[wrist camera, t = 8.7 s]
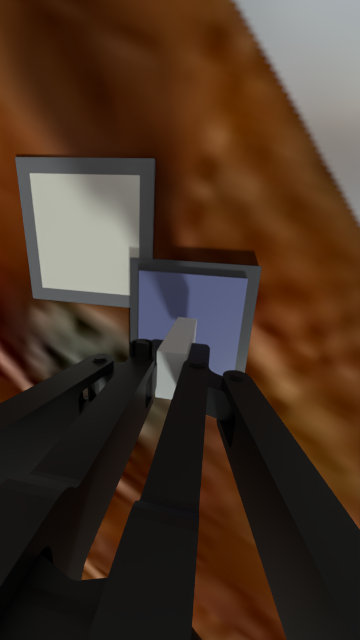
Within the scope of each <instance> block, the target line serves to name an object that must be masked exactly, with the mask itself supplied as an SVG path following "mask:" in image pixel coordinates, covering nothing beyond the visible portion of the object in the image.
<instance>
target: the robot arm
mask: <svg viewBox="0 0 360 640" xmlns="http://www.w3.org/2000/svg"><path fill="white" fill-rule="evenodd" d="M196 327H197V319H194V318H184V317H178V318H177V320H176V321H175V323H174V324H173V326H172V328H171V329H170V331H169V332H168V334H167V336H166V337H165V339H164V340H160V339H153V340H149V339H136V340H132V341H131V342H130V357H129V358H128V359H127V361H126V362H122V363H114V358H113V357H112V356H111V355H108V354H97V355H93V356H90V357H88V358H86V359H85V360H83V361H81V362H79V363H77V364H75V365H73V366H71V367H69V368H67V369H65V370H64V371H62V372H60V373H58V374H56V375H54V376H52V377H50V378H48V379H46V380H44V381H43V382H41V383H39V384H37V385H35V386H33V387H31V388H29V389H27V390H25V391H23V392H21V393H20V394H18V395H16V396H14V397H12V398H10V399H8V400H6V401H4V402H2V403H0V640H202V639H201V638H200V637H199V635H198V634H197V633H196V631H195V630H194V629H193V627H192V616H193V601H194V587H195V572H196V557H197V543H198V528H199V501H200V487H201V473H202V459H203V445H204V431H205V417H206V414H207V415H209V416H212V417H214V418H217V426H218V429H219V432H220V435H221V438H222V441H223V444H224V447H225V450H226V453H227V457H228V460H229V463H230V466H231V469H232V472H233V475H234V478H235V481H236V484H237V487H238V490H239V494H240V497H241V500H242V503H243V506H244V509H245V512H246V515H247V518H248V521H249V524H250V527H251V531H252V534H253V537H254V540H255V543H256V546H257V549H258V552H259V555H260V558H261V561H262V564H263V568H264V571H265V574H266V577H267V580H268V583H269V586H270V589H271V592H272V595H273V598H274V601H275V605H276V608H277V611H278V614H279V617H280V620H281V623H282V626H283V629H284V632H285V635H286V638H287V640H360V530H359V528H358V527H357V525H356V524H355V523H354V521H353V520H352V518H351V517H350V516H349V514H348V513H347V511H346V510H345V509H344V507H343V506H342V504H341V503H340V502H339V500H338V499H337V497H336V496H335V495H334V493H333V492H332V490H331V489H330V488H329V486H328V485H327V483H326V482H325V481H324V479H323V478H322V476H321V475H320V474H319V472H318V471H317V469H316V468H315V467H314V465H313V464H312V462H311V461H310V460H309V458H308V457H307V455H306V454H305V453H304V451H303V450H302V448H301V447H300V446H299V444H298V443H297V441H296V440H295V439H294V437H293V436H292V434H291V433H290V432H289V430H288V429H287V427H286V426H285V425H284V423H283V422H282V420H281V419H280V418H279V416H278V415H277V413H276V412H275V411H274V409H273V408H272V406H271V405H270V404H269V402H268V401H267V399H266V398H265V397H264V395H263V394H262V393H261V391H260V390H259V388H258V387H257V386H256V384H255V383H254V381H253V380H252V379H251V377H250V376H249V375H248V374H246V373H244V372H242V371H239V370H228V371H225V372H224V373H223V376H221V375H218V374H216V373H214V372H212V371H211V370H210V368H209V357H210V347H209V346H208V345H207V344H199V343H195V338H196ZM87 387H88V396H87V397H85V398H83V390H84V389H86V388H87ZM155 389H156V394H155V397H159V398H165V399H172V401H171V404H170V407H169V410H168V413H167V416H166V420H165V423H164V426H163V429H162V432H161V435H160V439H159V442H158V445H157V448H156V451H155V455H154V458H153V461H152V464H151V467H150V470H149V474H148V477H147V480H146V483H145V486H144V489H143V493H142V495H141V498H140V500H139V501H135V503H134V505H133V506H132V509H131V511H130V514H129V517H128V520H127V523H126V526H125V528H124V531H123V534H122V537H121V540H120V543H119V546H118V549H117V552H116V555H115V558H114V561H113V564H112V567H111V570H110V573H109V576H108V578H99V579H90V580H81V578H82V573H83V568H84V564H85V561H86V558H87V555H88V553H89V550H90V548H91V546H92V543H93V541H94V539H95V536H96V534H97V532H98V529H99V527H100V525H101V522H102V520H103V518H104V515H105V513H106V511H107V508H108V506H109V504H110V501H111V499H112V497H113V494H114V492H115V490H116V487H117V485H118V483H119V480H120V478H121V476H122V473H123V471H124V469H125V466H126V464H127V462H128V459H129V457H130V455H131V452H132V450H133V448H134V445H135V443H136V441H137V438H138V436H139V434H140V431H141V429H142V427H143V424H144V422H145V420H146V417H147V415H148V413H149V410H150V408H151V406H152V403H153V394H154V391H155Z"/></svg>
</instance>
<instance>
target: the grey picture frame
mask: <svg viewBox="0 0 360 640" xmlns="http://www.w3.org/2000/svg"><path fill="white" fill-rule="evenodd" d="M15 160H16V168H17V175H18V183H19V191H20V199H21V207H22V214H23V222H24V230H25V238H26V245H27V253H28V261H29V269H30V277H31V284H32V292H33V298H36V299H46V300H57V301H67V302H77V303H87V304H97V305H108V306H118V307H128V308H130V258H131V257H135V258H149V259H153V237H154V198H155V158H60V157H15Z"/></svg>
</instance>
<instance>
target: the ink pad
mask: <svg viewBox="0 0 360 640" xmlns="http://www.w3.org/2000/svg"><path fill="white" fill-rule="evenodd" d="M261 268H262V266H254V265H239V264H224V263H210V262H195V261H180V260H166V259H149V258H135V257H131V258H130V342H131V341H132V340H136V339H149V340H153V339H160V340H164V339H165V337H166V336H167V334H168V332H169V331H170V329H171V328H172V326H173V324H174V323H175V321H176V320H177V318H178V317H184V318H194V319H197V327H196V338H195V343H199V344H207V345H208V346H209V347H210V357H209V368H210V370H211V371H212V372H214V373H216V374H218V375H221V376H223V373H224V372H225V371H228V370H239V371H242V372H244V373H245V367H246V361H247V354H248V348H249V342H250V336H251V330H252V323H253V317H254V311H255V305H256V299H257V292H258V286H259V280H260V274H261Z"/></svg>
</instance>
